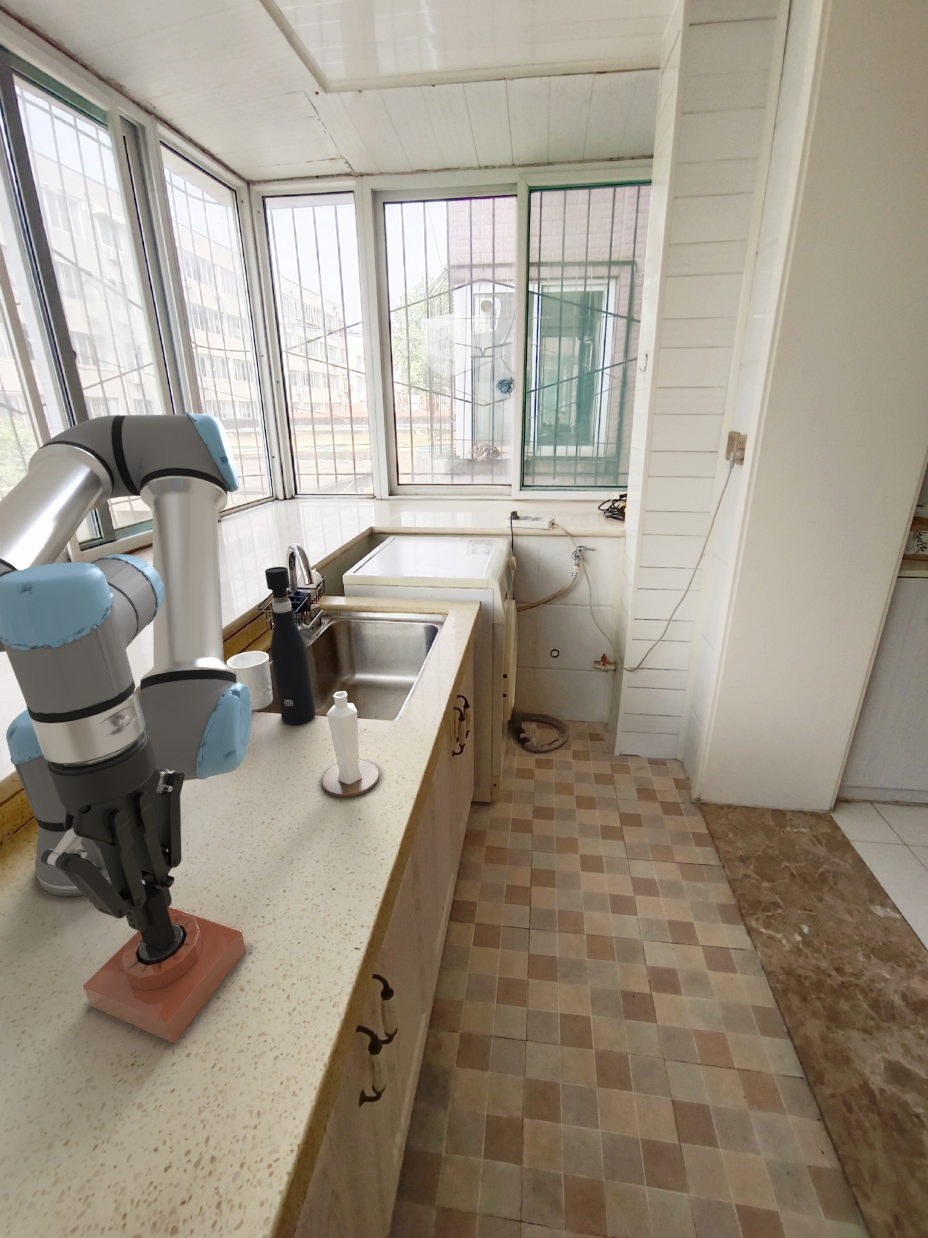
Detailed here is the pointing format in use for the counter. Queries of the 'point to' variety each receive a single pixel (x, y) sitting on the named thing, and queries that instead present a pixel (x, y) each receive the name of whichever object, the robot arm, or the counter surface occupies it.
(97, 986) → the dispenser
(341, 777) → the perfume bottle
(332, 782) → the coaster
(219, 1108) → the counter surface
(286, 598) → the black water bottle
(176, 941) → the dark grey disc
